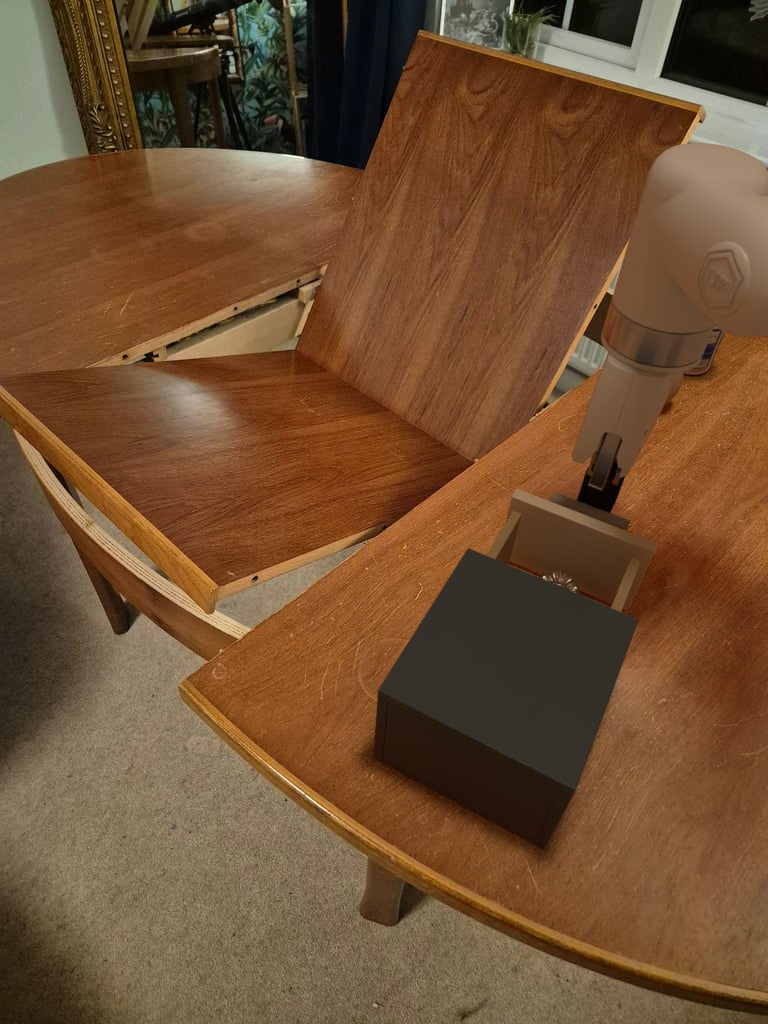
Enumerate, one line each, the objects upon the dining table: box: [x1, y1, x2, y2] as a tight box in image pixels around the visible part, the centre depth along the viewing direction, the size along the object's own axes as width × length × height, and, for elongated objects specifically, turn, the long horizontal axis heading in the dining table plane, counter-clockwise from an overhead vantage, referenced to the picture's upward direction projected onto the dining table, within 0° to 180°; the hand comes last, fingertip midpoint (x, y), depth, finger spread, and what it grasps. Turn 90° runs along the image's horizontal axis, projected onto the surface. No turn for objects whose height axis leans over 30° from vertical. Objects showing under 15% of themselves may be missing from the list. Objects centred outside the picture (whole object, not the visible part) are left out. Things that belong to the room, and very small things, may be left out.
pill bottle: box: [683, 327, 726, 376], centre depth 91 cm, size 6×6×10 cm
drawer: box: [485, 488, 659, 613], centre depth 62 cm, size 18×12×8 cm
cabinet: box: [372, 547, 639, 850], centre depth 55 cm, size 15×14×10 cm
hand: (595, 502), depth 68 cm, fingers closed
